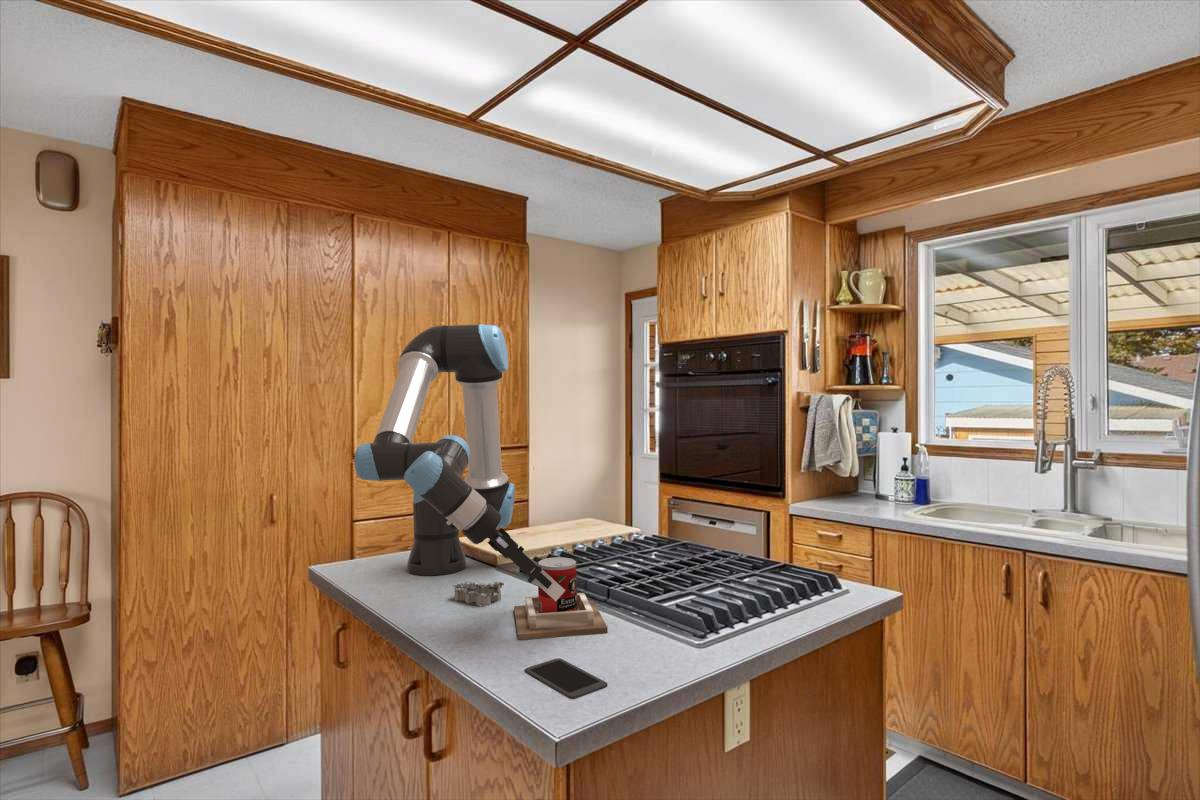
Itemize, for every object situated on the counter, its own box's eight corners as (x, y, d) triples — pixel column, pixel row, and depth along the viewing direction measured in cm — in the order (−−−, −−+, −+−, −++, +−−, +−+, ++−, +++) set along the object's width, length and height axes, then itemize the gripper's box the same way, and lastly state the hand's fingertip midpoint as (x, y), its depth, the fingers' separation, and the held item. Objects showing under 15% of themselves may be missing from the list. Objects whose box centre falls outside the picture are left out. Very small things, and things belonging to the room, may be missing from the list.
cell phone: (572, 702, 100) (572, 697, 100) (522, 673, 111) (522, 668, 111) (609, 688, 105) (609, 683, 105) (558, 661, 116) (558, 656, 116)
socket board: (514, 610, 142) (513, 594, 142) (593, 605, 145) (592, 589, 145) (518, 639, 125) (518, 621, 125) (607, 632, 128) (607, 614, 128)
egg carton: (506, 600, 150) (506, 582, 150) (481, 609, 144) (481, 590, 144) (474, 592, 157) (474, 574, 157) (448, 600, 151) (448, 582, 151)
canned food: (563, 625, 130) (562, 568, 130) (530, 618, 134) (529, 563, 134) (584, 613, 136) (584, 560, 136) (553, 607, 140) (552, 555, 140)
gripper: (451, 520, 140) (522, 584, 145) (471, 545, 116) (555, 620, 122) (476, 493, 141) (545, 557, 147) (501, 512, 118) (582, 588, 123)
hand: (550, 586), depth 134 cm, fingers open, 13 cm apart
